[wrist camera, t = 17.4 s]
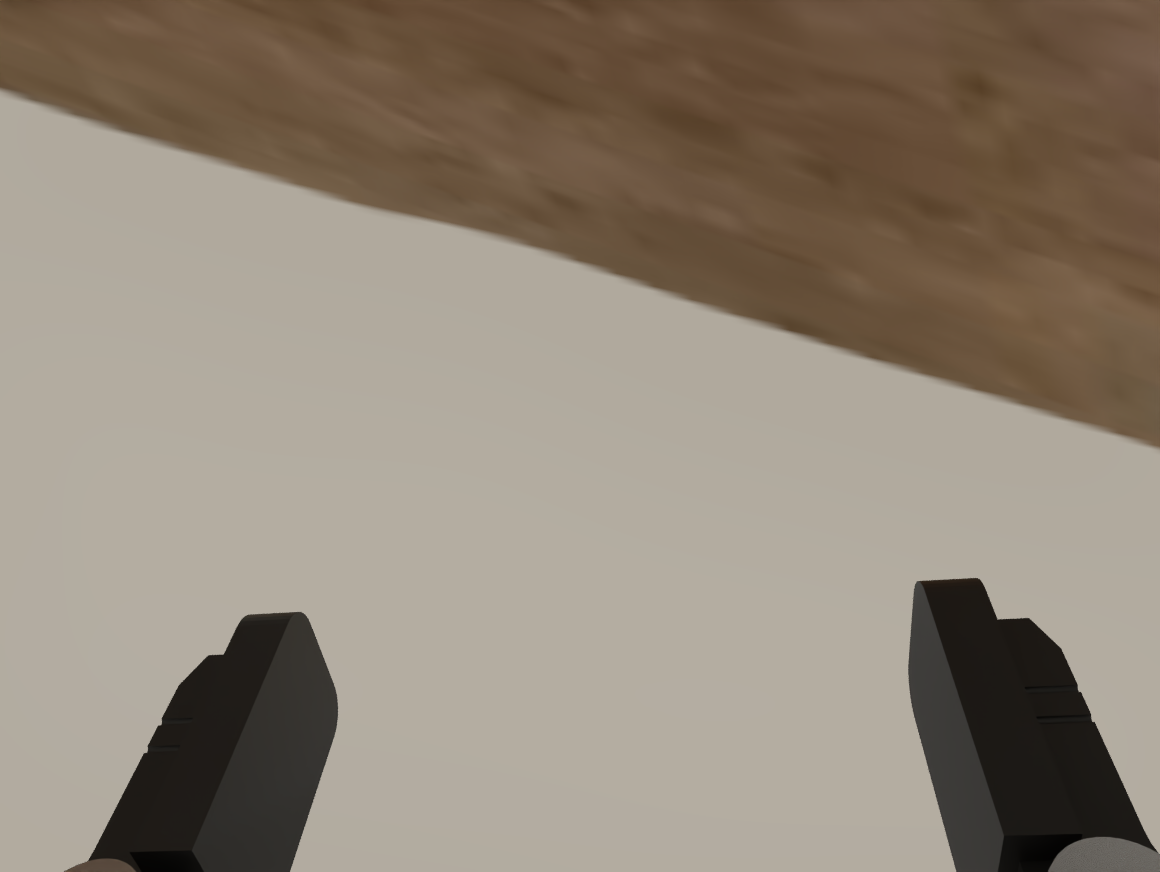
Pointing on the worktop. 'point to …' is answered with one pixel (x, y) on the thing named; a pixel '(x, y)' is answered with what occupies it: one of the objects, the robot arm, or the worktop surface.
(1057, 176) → the worktop surface
